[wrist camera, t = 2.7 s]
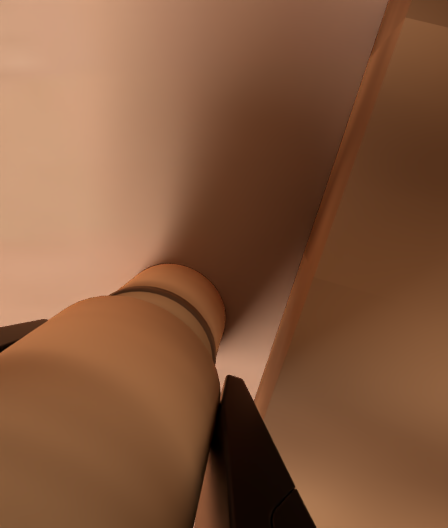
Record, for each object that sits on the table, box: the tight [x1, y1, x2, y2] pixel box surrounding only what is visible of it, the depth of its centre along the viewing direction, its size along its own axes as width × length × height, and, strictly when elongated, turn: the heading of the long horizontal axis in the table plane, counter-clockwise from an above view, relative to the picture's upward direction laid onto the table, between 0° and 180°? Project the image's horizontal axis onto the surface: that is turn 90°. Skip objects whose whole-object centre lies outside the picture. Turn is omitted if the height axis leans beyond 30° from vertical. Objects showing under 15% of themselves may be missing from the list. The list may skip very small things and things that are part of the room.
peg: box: [0, 264, 226, 528], centre depth 7 cm, size 4×4×9 cm
